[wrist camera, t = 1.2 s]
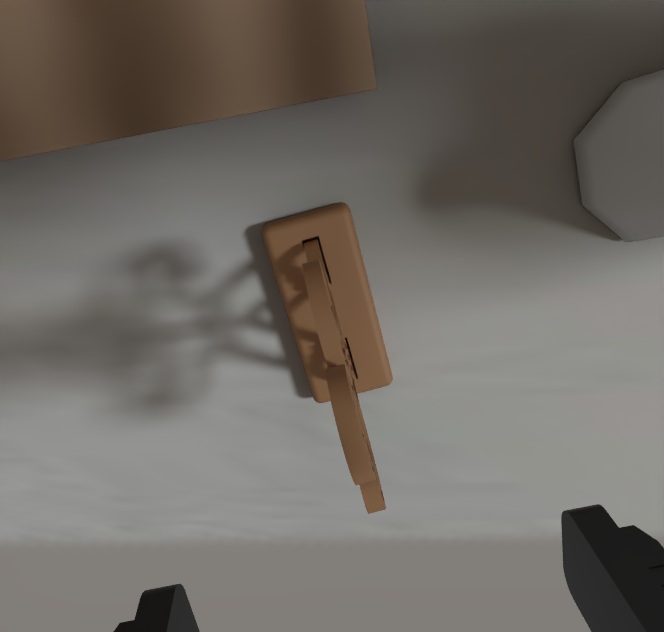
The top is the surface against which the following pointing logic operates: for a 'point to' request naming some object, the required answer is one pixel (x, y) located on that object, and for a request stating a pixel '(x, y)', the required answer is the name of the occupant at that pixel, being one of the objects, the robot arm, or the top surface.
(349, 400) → the gingerbread man figurine
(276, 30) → the walnut plinth
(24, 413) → the top surface
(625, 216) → the flask
